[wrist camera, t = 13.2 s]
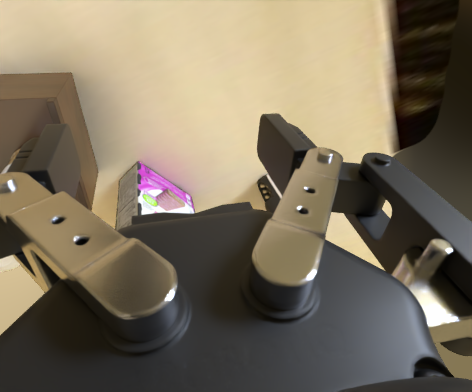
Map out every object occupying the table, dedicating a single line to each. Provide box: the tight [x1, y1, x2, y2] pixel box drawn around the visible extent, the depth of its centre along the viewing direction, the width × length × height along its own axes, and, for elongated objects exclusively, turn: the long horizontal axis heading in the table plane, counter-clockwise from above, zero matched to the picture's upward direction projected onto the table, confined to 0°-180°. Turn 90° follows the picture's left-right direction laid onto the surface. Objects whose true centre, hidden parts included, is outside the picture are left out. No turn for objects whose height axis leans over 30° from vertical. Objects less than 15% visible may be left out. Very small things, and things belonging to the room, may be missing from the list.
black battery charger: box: [257, 174, 282, 213], centre depth 50 cm, size 7×4×11 cm, turn 22°
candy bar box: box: [115, 161, 195, 231], centre depth 42 cm, size 11×5×16 cm, turn 42°
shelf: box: [0, 73, 98, 211], centre depth 35 cm, size 14×15×10 cm
